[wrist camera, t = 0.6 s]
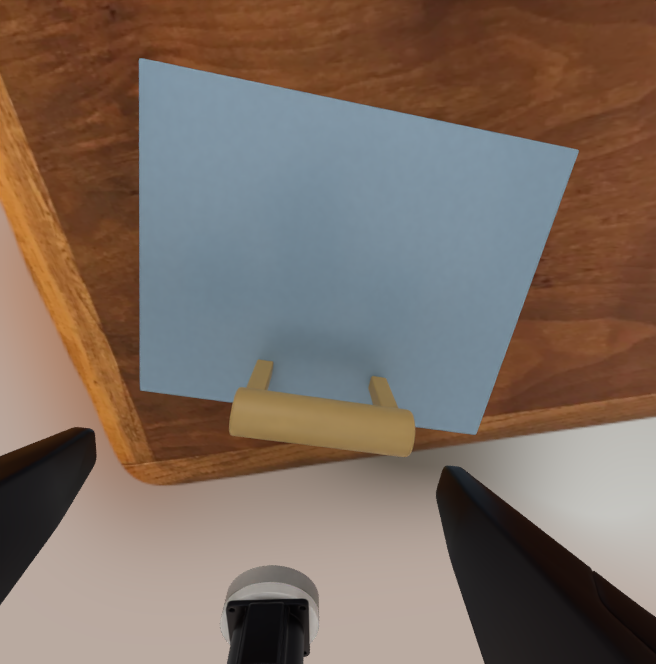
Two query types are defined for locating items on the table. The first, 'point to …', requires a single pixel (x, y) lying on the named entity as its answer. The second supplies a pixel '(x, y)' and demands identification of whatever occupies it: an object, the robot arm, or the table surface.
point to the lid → (331, 258)
